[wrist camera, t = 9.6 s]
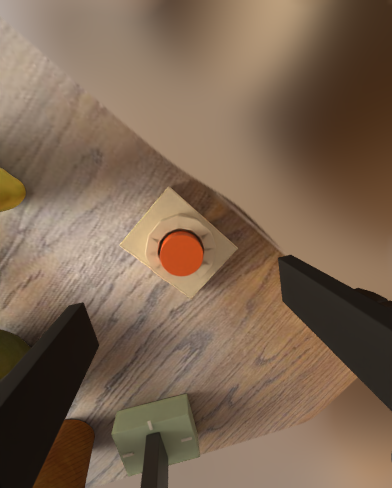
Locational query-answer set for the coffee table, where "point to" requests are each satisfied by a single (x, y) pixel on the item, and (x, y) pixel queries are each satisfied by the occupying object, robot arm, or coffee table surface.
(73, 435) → the disposable coffee cup
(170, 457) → the dial base
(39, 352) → the robot arm
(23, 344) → the fruit
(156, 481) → the dial knob
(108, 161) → the coffee table surface
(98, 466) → the coffee table surface
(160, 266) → the switch base
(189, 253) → the switch button
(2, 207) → the bottle
